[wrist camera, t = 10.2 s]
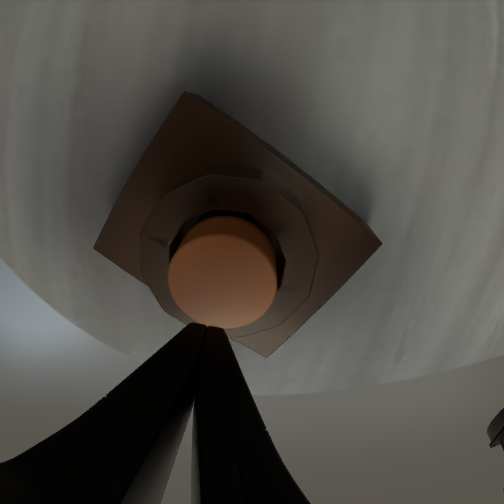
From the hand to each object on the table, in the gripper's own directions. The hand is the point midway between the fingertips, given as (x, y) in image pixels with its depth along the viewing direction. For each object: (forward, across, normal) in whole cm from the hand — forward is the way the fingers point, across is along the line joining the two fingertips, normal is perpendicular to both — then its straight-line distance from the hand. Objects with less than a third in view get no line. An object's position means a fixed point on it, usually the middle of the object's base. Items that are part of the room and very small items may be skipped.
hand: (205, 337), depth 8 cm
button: (+4, 0, 0) cm, 4 cm away
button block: (+8, 0, 0) cm, 8 cm away
